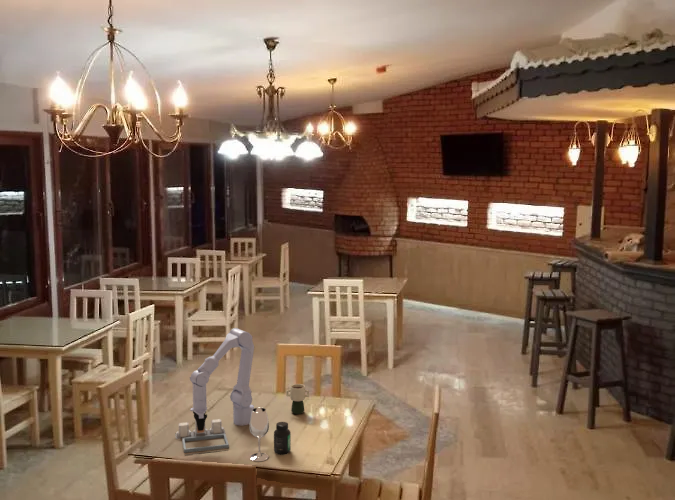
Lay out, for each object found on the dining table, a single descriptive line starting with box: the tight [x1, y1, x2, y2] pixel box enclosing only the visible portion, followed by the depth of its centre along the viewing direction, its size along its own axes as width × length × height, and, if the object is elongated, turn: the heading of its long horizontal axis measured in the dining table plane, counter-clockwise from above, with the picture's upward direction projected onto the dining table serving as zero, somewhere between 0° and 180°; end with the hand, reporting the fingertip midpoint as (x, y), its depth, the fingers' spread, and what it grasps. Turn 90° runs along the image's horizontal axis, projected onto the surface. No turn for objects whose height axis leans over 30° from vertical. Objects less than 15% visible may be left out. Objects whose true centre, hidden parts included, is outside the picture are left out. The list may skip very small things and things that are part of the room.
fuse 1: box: [178, 421, 190, 437], centre depth 289 cm, size 4×3×5 cm
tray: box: [181, 434, 230, 456], centre depth 281 cm, size 18×12×2 cm, turn 106°
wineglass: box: [248, 406, 270, 462], centre depth 270 cm, size 8×8×20 cm
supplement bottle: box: [273, 421, 292, 456], centre depth 276 cm, size 7×7×12 cm
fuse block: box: [174, 426, 227, 440], centre depth 292 cm, size 21×6×3 cm, turn 106°
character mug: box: [285, 383, 310, 415], centre depth 319 cm, size 11×7×13 cm, turn 87°
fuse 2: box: [211, 418, 223, 434], centre depth 293 cm, size 4×3×5 cm
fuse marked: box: [194, 420, 206, 433], centre depth 291 cm, size 4×3×5 cm
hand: (200, 428), depth 291 cm, fingers closed on fuse marked, 3 cm apart
